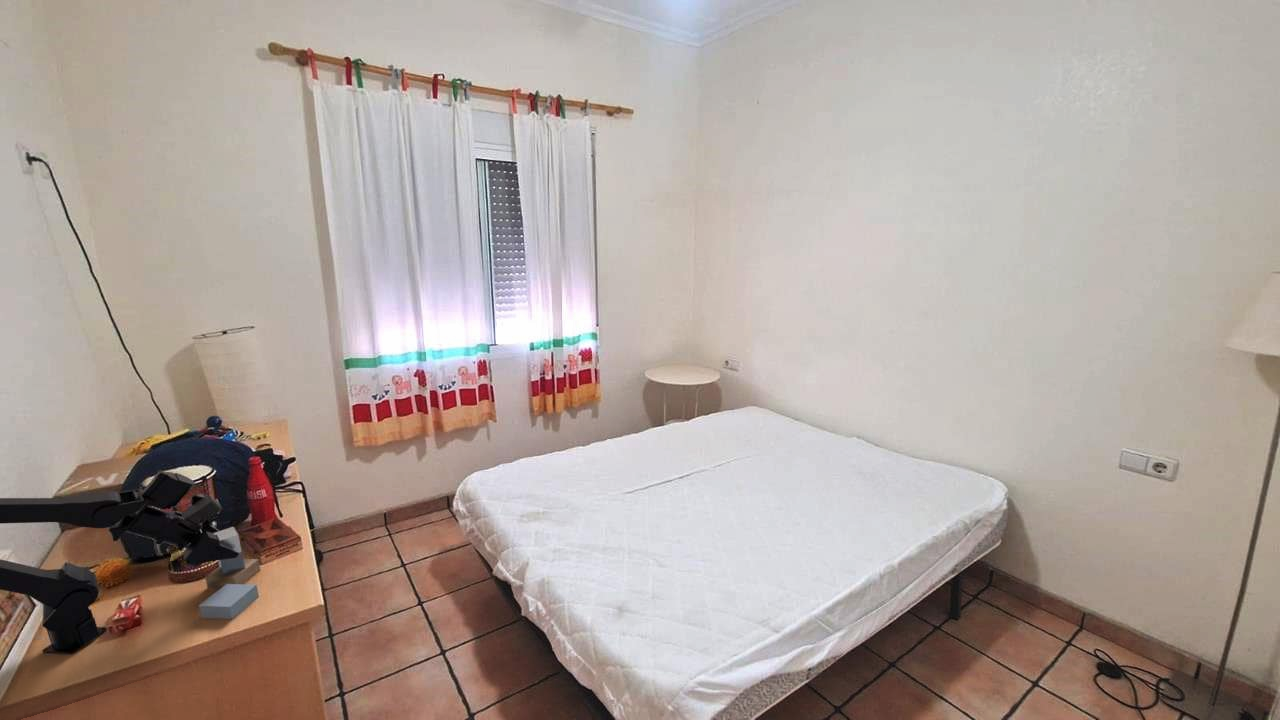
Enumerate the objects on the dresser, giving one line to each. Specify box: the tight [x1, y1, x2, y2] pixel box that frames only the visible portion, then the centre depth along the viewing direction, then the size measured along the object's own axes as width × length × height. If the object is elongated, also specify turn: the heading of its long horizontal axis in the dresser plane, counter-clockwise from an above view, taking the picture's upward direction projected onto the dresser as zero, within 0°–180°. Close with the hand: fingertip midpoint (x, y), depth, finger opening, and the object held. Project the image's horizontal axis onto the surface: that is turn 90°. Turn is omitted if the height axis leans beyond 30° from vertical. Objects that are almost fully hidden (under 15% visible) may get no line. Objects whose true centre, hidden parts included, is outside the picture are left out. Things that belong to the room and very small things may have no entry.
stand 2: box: [198, 583, 260, 620], centre depth 110 cm, size 7×7×3 cm
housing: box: [213, 526, 245, 576], centre depth 118 cm, size 4×5×9 cm
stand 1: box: [204, 558, 261, 590], centre depth 119 cm, size 7×7×3 cm
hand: (233, 547), depth 119 cm, fingers open, 9 cm apart
